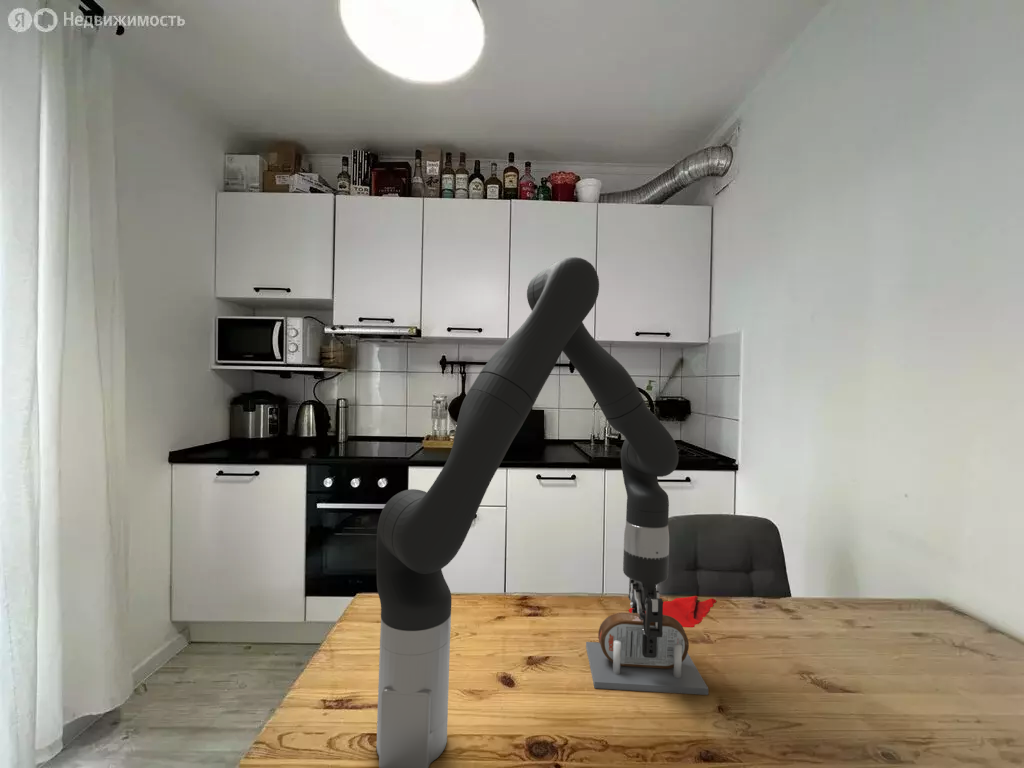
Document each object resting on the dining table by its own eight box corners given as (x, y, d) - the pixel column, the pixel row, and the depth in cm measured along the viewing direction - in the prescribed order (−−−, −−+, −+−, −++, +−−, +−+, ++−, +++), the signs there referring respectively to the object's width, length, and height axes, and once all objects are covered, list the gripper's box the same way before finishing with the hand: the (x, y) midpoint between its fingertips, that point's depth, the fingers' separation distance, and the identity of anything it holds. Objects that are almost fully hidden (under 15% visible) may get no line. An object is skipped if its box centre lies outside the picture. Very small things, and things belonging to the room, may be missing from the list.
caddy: (708, 695, 75) (709, 657, 75) (594, 688, 76) (595, 650, 76) (684, 652, 87) (685, 620, 87) (586, 647, 88) (587, 614, 88)
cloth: (630, 635, 94) (631, 623, 94) (605, 603, 108) (605, 593, 108) (748, 627, 99) (748, 616, 99) (709, 598, 112) (709, 588, 112)
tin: (684, 662, 83) (685, 613, 83) (690, 673, 79) (691, 622, 79) (597, 657, 83) (598, 609, 83) (599, 667, 80) (601, 617, 80)
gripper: (681, 565, 75) (677, 668, 74) (657, 536, 89) (654, 623, 89) (632, 562, 75) (629, 666, 75) (616, 534, 89) (614, 621, 89)
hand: (643, 642), depth 82 cm, fingers open, 8 cm apart
